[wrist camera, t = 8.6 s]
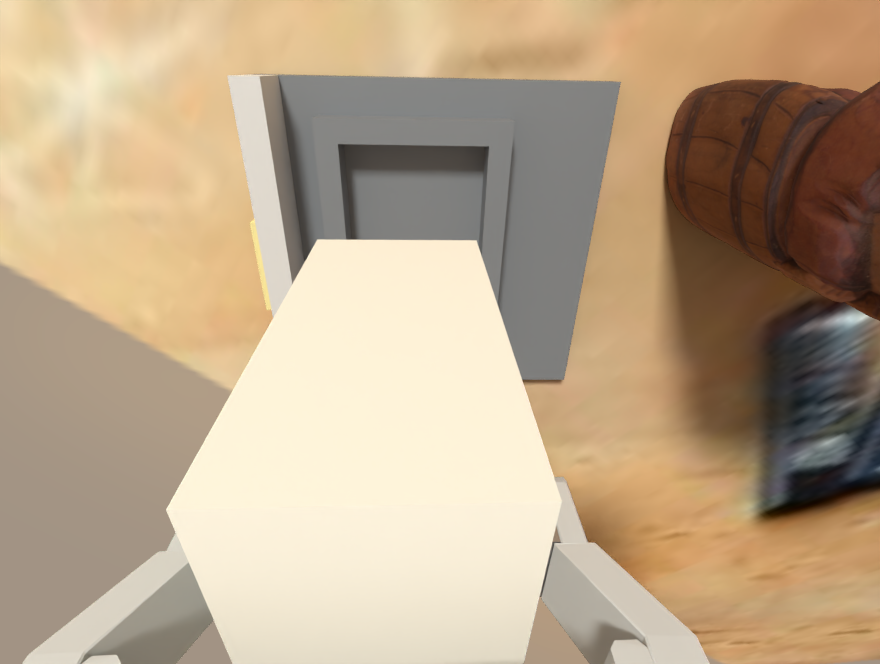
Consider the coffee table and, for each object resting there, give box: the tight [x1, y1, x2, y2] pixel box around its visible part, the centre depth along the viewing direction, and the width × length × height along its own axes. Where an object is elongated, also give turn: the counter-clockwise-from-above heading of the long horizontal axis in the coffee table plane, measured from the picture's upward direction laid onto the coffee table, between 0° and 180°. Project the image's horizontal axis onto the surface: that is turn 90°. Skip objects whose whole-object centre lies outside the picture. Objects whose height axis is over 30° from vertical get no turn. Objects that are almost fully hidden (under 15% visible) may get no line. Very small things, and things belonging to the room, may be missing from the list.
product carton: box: [166, 239, 562, 664], centre depth 11 cm, size 5×8×9 cm, turn 179°
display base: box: [228, 74, 621, 380], centre depth 23 cm, size 16×16×4 cm
